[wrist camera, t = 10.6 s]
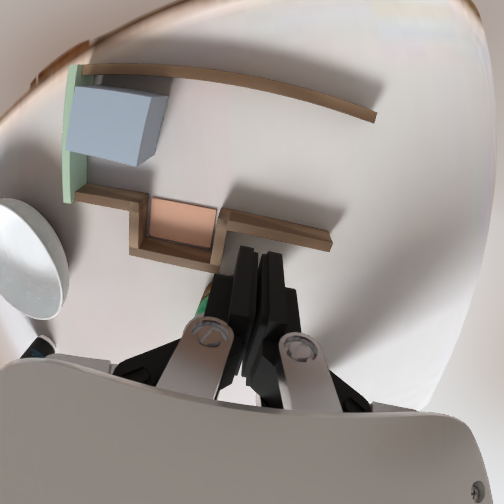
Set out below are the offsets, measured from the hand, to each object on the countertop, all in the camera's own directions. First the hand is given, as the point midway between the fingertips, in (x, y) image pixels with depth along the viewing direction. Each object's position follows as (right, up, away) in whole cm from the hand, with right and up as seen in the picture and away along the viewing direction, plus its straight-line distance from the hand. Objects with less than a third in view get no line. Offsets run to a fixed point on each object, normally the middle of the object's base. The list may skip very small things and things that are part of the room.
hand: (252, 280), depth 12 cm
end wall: (-20, +16, +17) cm, 31 cm away
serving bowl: (-35, +2, +26) cm, 44 cm away
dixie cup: (-46, -19, +39) cm, 63 cm away
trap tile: (-9, +5, +23) cm, 25 cm away
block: (-14, +16, +16) cm, 27 cm away
